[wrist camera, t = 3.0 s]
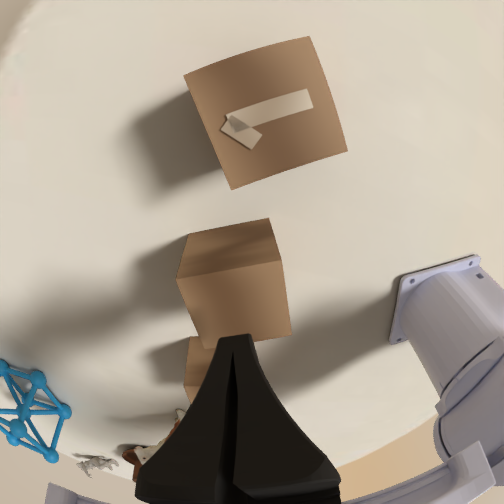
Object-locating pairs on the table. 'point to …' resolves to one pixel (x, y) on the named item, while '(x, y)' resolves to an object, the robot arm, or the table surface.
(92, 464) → the soldier figure
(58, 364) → the table surface
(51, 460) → the molecular structure
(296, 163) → the cube one
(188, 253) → the plain cube
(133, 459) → the cup and saucer
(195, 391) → the cube seven
